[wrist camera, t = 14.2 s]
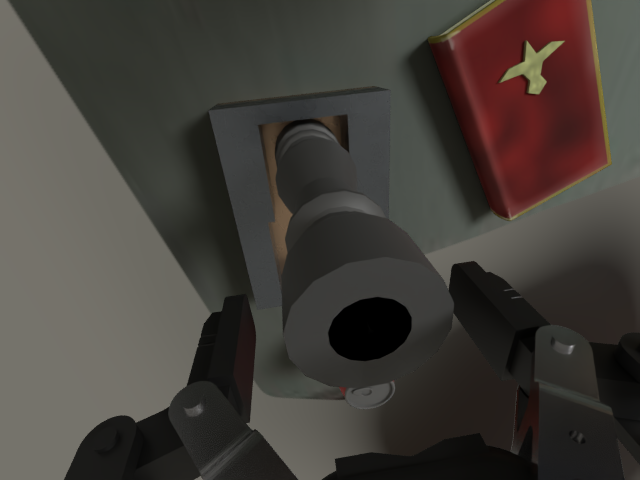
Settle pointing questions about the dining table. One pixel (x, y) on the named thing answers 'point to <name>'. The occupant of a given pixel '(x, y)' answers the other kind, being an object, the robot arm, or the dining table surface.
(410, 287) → the candle holder
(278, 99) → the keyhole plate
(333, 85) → the dining table surface
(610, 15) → the dining table surface
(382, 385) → the beer can
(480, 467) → the robot arm
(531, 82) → the hardcover book
